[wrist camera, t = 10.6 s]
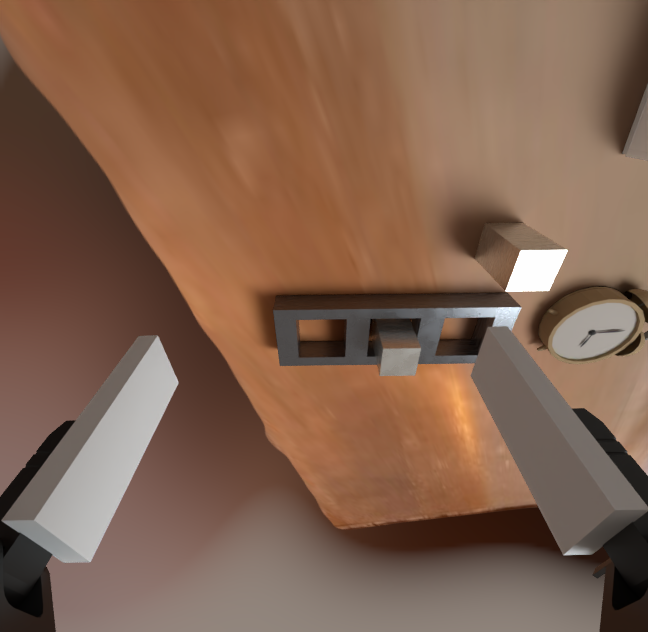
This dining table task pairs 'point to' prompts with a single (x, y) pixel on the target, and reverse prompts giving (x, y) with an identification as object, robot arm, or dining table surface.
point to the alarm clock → (595, 325)
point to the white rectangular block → (519, 256)
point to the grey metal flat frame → (362, 308)
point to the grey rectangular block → (395, 346)
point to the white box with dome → (639, 132)
